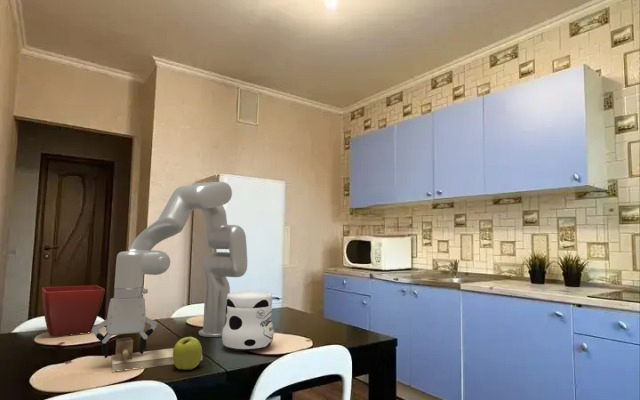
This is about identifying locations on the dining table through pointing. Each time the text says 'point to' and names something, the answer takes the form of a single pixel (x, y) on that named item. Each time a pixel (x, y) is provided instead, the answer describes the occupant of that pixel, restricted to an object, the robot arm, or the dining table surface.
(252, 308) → the milk container
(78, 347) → the dining table surface
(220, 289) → the robot arm
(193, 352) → the apple
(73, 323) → the plant pot
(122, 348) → the mallet
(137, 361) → the board
